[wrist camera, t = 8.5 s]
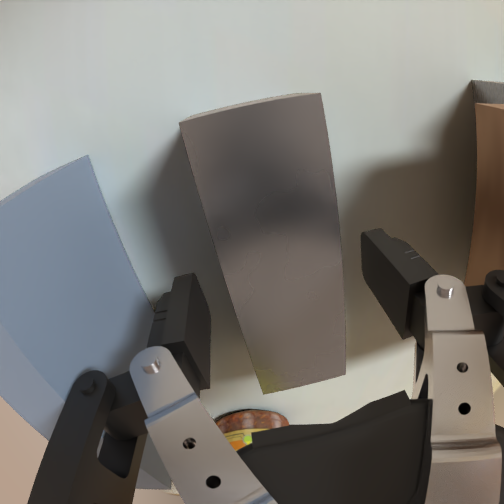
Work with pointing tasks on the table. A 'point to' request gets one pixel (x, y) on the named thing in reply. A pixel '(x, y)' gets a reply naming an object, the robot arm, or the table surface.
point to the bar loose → (275, 232)
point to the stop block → (67, 300)
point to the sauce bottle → (248, 425)
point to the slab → (488, 196)
